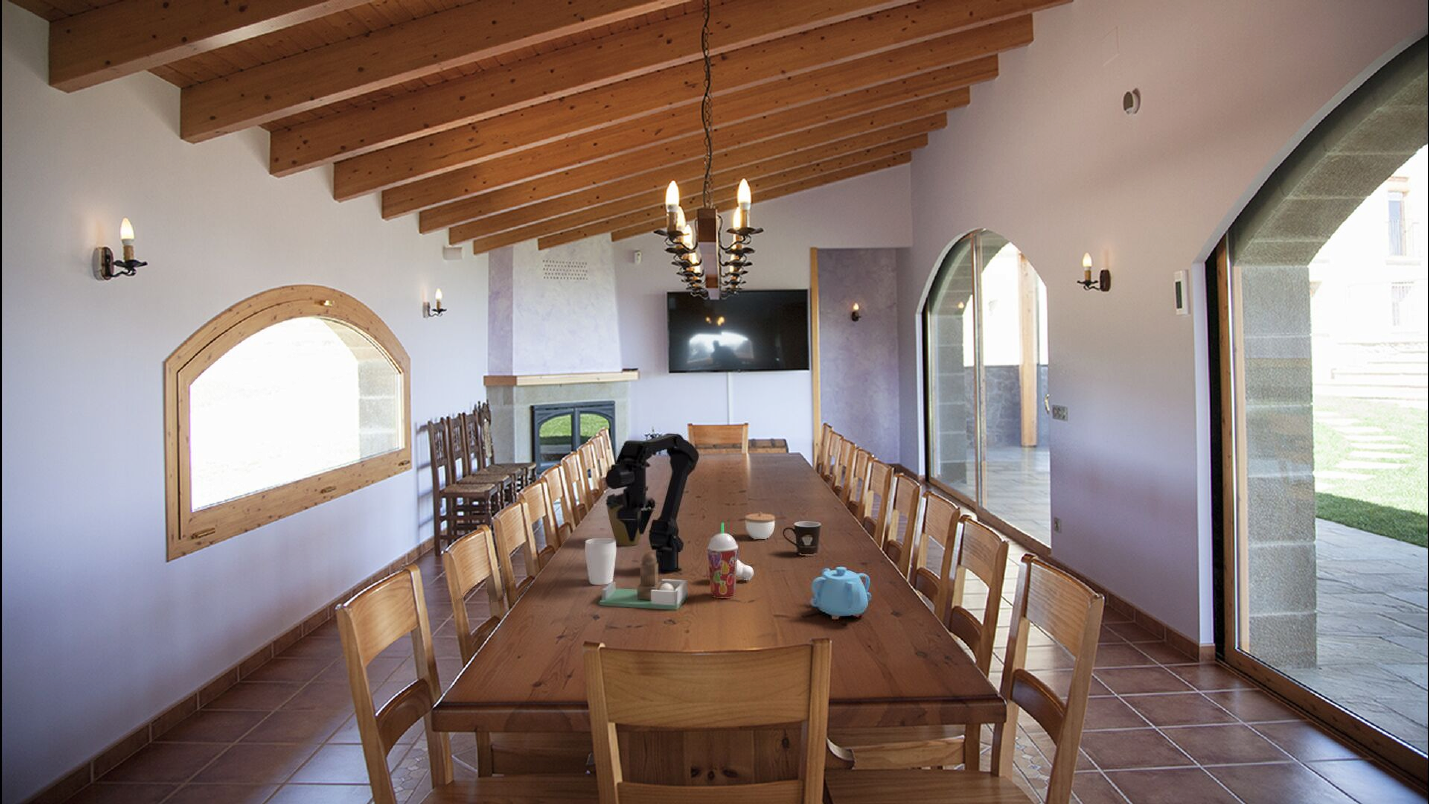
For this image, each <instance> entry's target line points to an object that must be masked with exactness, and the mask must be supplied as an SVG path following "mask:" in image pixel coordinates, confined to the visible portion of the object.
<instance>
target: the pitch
mask: <svg viewBox="0 0 1429 804" xmlns="http://www.w3.org/2000/svg"><path fill="white" fill-rule="evenodd" d="M660 582H662V584H665V583H669V584H671V585H672V586H673V588H674V591H666V590H651V600H645V599H637V589H632V588H616V581H612V582H611V583H609V584H606V586H605V587H603V589H602V590H601V600H599V606H606V607H608V606H609V607H622V608H639V609H640V608H641V609H652V610H667V611H668V610H670V611H677V610H678V609H679V608H680V606H681V605H682V604H683V603H684V602H685V601H686V599H687V598H688V597H689V593H688V580H686V579H685V580H684V579H668V578H662V579H661V581H660Z"/></svg>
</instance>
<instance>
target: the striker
mask: <svg viewBox="0 0 1429 804" xmlns="http://www.w3.org/2000/svg"><path fill="white" fill-rule="evenodd" d="M656 562H657V559H656V554H654V553H652V552H646V553H645V554H644V555H642V557H641V564H640V565H639V567H640V569H639V570H640V571H639V572H640V583H639V585H637V587H636V590H637V599H645V600H651V590H659V588H660V586H661V585H662V582H661V581H659V571H658V563H656Z"/></svg>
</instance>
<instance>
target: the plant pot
mask: <svg viewBox="0 0 1429 804" xmlns="http://www.w3.org/2000/svg"><path fill="white" fill-rule="evenodd" d="M646 498H649V497H648V496H646ZM622 507H623V505H620V506H618V507H615V508H614V509H611V510H610V508H609V506H607V505H606V509H607V514H608V520H609V522H610V523H609V524H610V528H611V531H612V535H613V537H614V539H615V540H616V545H618V546H624V547H625V546H626V547H629V546H630V547H632V546H636V545H638V544H639V543H640V539H641V537H642V534H639V528H638V530H637V533H636V537H635V540H634V541H633V542H631V541H630V540H629V537H628V533H627V530H626V527H625V524H624V523H622V522H621V521H619V520H618V519H617V518H616V512H617V511H618V510H619V509H620V508H622Z"/></svg>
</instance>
